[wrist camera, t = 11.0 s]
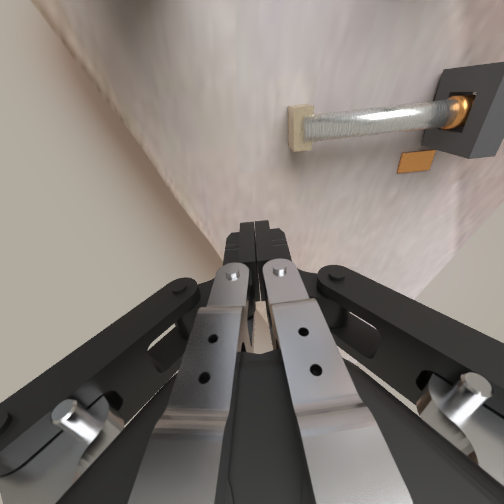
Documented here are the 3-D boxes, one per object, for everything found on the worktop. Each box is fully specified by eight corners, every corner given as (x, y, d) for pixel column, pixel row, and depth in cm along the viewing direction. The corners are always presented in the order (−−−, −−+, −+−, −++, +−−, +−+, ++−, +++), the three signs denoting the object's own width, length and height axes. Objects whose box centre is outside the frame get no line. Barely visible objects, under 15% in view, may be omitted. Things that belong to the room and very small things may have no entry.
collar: (421, 145, 34) (468, 158, 27) (443, 69, 29) (509, 61, 22) (441, 142, 34) (494, 156, 27) (467, 66, 29) (542, 57, 22)
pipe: (288, 183, 38) (295, 199, 32) (288, 106, 32) (296, 108, 26) (464, 165, 37) (502, 178, 31) (499, 81, 31) (555, 77, 25)
